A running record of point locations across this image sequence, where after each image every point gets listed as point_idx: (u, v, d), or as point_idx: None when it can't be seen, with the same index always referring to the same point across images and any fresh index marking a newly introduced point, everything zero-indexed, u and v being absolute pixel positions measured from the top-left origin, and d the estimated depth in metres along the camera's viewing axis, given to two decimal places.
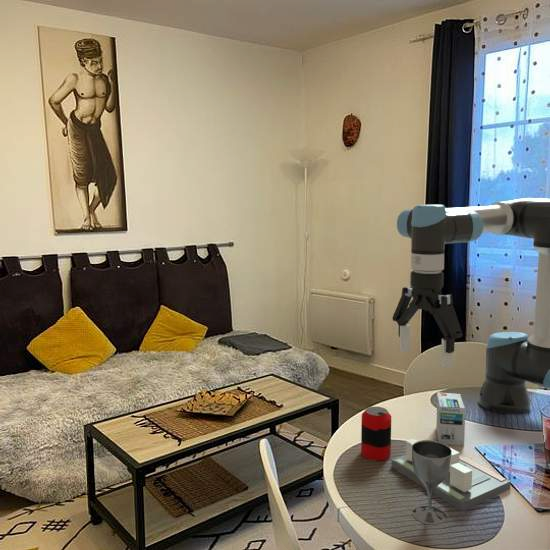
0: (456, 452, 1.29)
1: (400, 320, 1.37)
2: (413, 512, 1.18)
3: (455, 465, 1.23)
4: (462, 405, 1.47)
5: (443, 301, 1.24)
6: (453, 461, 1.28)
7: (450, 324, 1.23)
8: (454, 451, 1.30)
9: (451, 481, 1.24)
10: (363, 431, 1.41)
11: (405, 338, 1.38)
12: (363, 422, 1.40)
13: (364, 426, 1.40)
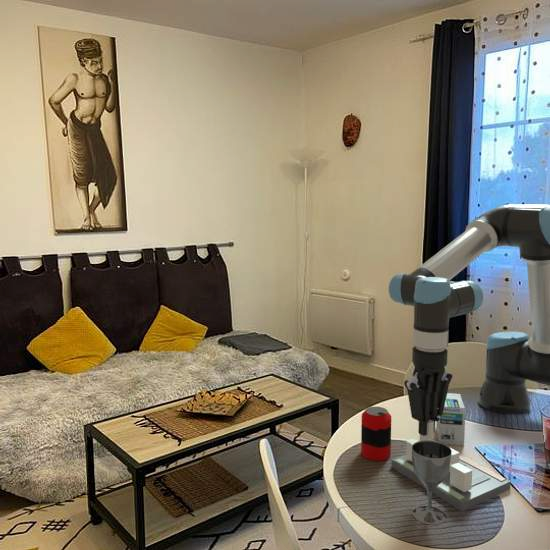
0: (456, 452, 1.29)
1: None
2: (413, 512, 1.18)
3: (455, 465, 1.23)
4: (462, 405, 1.47)
5: None
6: (453, 461, 1.28)
7: None
8: (454, 451, 1.30)
9: (451, 481, 1.24)
10: (363, 431, 1.41)
11: None
12: (363, 422, 1.40)
13: (364, 426, 1.40)
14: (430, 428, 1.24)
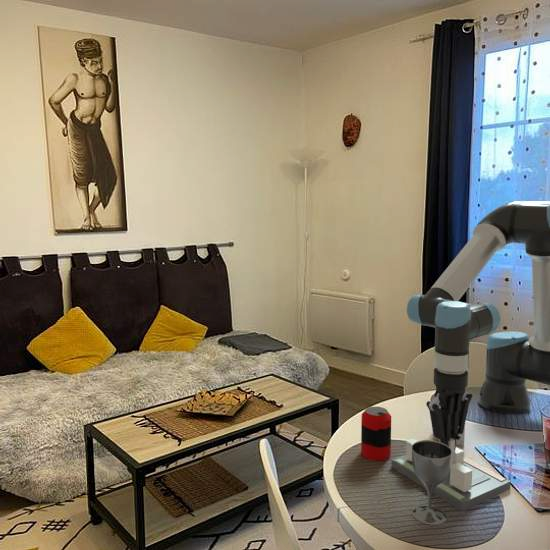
0: (460, 450, 1.30)
1: None
2: (413, 512, 1.18)
3: (455, 465, 1.23)
4: None
5: None
6: (457, 459, 1.29)
7: None
8: (458, 449, 1.30)
9: (451, 481, 1.24)
10: (363, 431, 1.41)
11: None
12: (363, 422, 1.40)
13: (364, 426, 1.40)
14: (452, 446, 1.29)
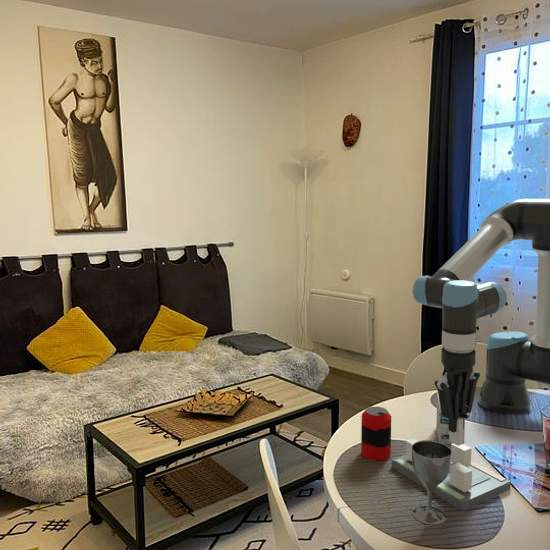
0: (468, 448, 1.31)
1: None
2: (413, 512, 1.18)
3: (455, 465, 1.23)
4: None
5: None
6: (465, 456, 1.31)
7: None
8: (466, 447, 1.32)
9: (451, 481, 1.24)
10: (363, 431, 1.41)
11: None
12: (363, 422, 1.40)
13: (364, 426, 1.40)
14: (460, 425, 1.29)
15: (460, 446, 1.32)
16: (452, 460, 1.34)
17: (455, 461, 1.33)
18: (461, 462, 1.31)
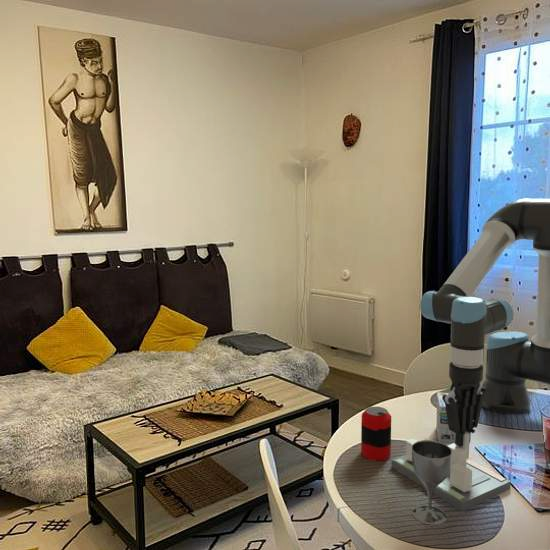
0: (463, 449, 1.31)
1: None
2: (413, 512, 1.18)
3: (455, 465, 1.23)
4: None
5: None
6: (460, 458, 1.30)
7: None
8: (461, 448, 1.31)
9: (451, 481, 1.24)
10: (363, 431, 1.41)
11: None
12: (363, 422, 1.40)
13: (364, 426, 1.40)
14: (467, 439, 1.31)
15: (455, 448, 1.31)
16: None
17: None
18: None
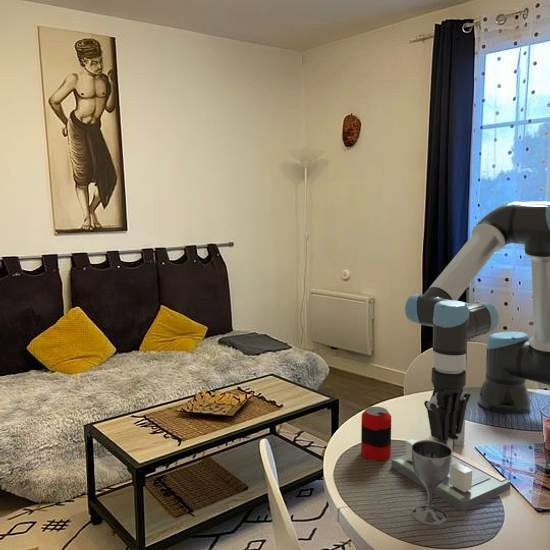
0: None
1: None
2: (413, 512, 1.18)
3: (455, 465, 1.23)
4: None
5: None
6: None
7: None
8: None
9: (451, 481, 1.24)
10: (363, 431, 1.41)
11: None
12: (363, 422, 1.40)
13: (364, 426, 1.40)
14: (450, 446, 1.28)
15: None
16: None
17: None
18: None
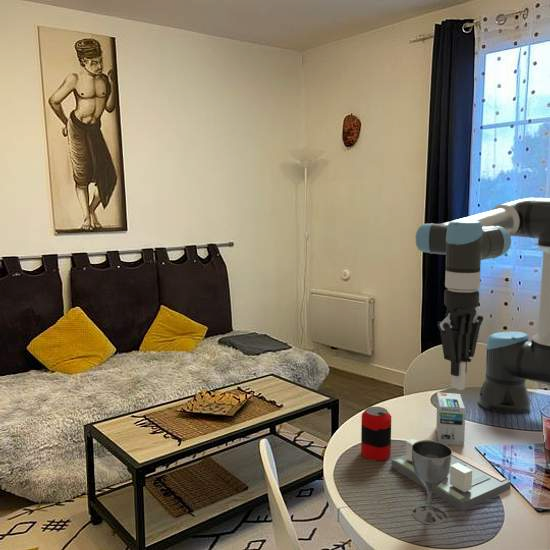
0: None
1: None
2: (413, 512, 1.18)
3: (455, 465, 1.23)
4: (462, 405, 1.47)
5: None
6: None
7: None
8: None
9: (451, 481, 1.24)
10: (363, 431, 1.41)
11: None
12: (363, 422, 1.40)
13: (364, 426, 1.40)
14: (463, 369, 1.27)
15: None
16: None
17: None
18: None
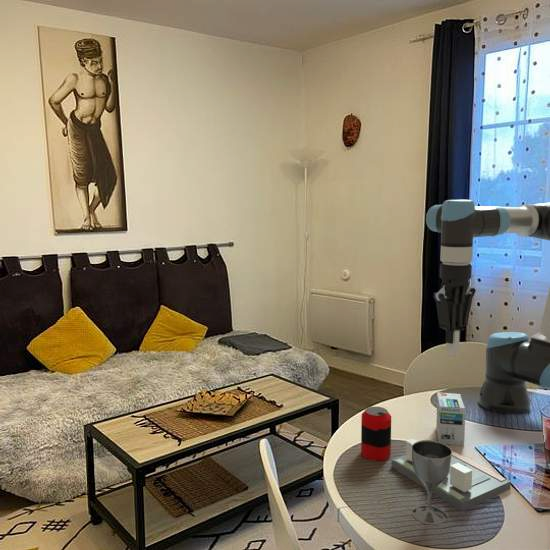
0: None
1: None
2: (413, 512, 1.18)
3: (455, 465, 1.23)
4: (462, 405, 1.47)
5: None
6: None
7: None
8: None
9: (451, 481, 1.24)
10: (363, 431, 1.41)
11: None
12: (363, 422, 1.40)
13: (364, 426, 1.40)
14: (456, 336, 1.38)
15: None
16: None
17: None
18: None
